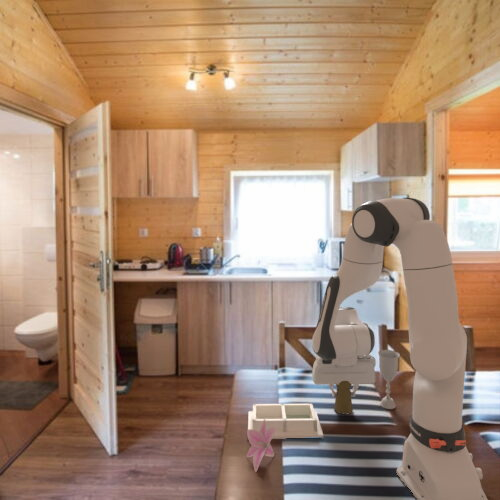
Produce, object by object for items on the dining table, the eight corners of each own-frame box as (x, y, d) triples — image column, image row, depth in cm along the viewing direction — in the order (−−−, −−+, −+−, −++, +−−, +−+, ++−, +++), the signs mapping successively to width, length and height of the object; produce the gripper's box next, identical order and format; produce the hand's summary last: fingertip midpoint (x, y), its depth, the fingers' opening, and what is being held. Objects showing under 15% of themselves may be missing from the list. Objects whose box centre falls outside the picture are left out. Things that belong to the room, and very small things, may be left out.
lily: (249, 446, 114) (235, 424, 110) (286, 431, 113) (274, 409, 109) (252, 485, 103) (237, 463, 99) (294, 469, 102) (281, 446, 98)
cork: (351, 405, 134) (351, 373, 133) (354, 414, 128) (354, 381, 127) (333, 404, 134) (333, 373, 133) (335, 413, 128) (335, 381, 127)
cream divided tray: (323, 438, 115) (323, 423, 115) (247, 439, 116) (247, 424, 115) (315, 413, 129) (315, 400, 129) (248, 414, 130) (248, 401, 129)
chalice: (401, 410, 130) (403, 357, 128) (380, 410, 130) (382, 358, 128) (394, 399, 138) (395, 349, 136) (374, 400, 138) (375, 349, 136)
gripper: (372, 351, 132) (372, 391, 133) (311, 352, 132) (311, 391, 134) (378, 358, 126) (378, 400, 127) (313, 359, 126) (314, 400, 128)
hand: (343, 396), depth 131 cm, fingers closed on cork, 4 cm apart
